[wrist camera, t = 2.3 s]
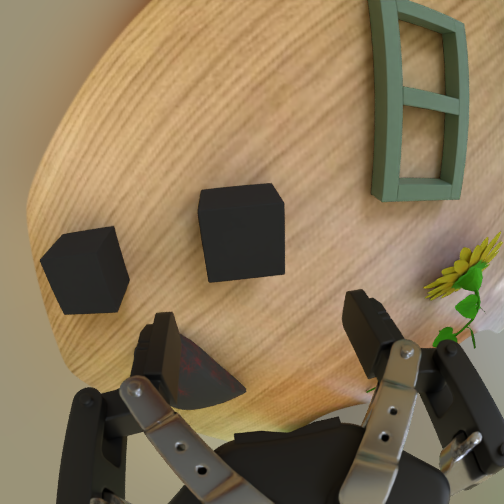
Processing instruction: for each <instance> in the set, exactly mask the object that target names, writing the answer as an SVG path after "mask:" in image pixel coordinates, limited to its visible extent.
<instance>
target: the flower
mask: <svg viewBox="0 0 504 504" xmlns="http://www.w3.org/2000/svg"><path fill="white" fill-rule="evenodd" d="M500 234H501V231H500V232H499V233H498V234H497V235H496V236H495V238H494V239H493V240H492V241H491V242H490V244H489V245H488V237H487V238H486V239H485V240H484V241H483V242H482V244H481V245H477V246H476V247H475V249H474V251H473V253H472V252H471V250H470V249H469V248H466V247H464V248H463V249H462V250H461V253H460V260H457V261H455V263H454V267H449V268H446V269H443V270H442V272H441V273H442V274H443V277H440V278H438V279H437V280H436V281H435V282H433V283H431V284H429V285H427V286H425V287H423V288H433V287H437V286H439V287H437V288H435V289H434V290H432V291H430V292H428V293H427V294H429V295H428V296H427V297H425V298H428V297H431V296H434V295H435V296H434V297H432V298H431V299H430V300H433V299H435V298H437V297H439V296H440V295H442V294H444V293H445V294H444V295H443V296H442V297H441V298H443V297H445V296H448V295H450V294H451V293H453V292H454V291H455V290H456V291H458V290H460V289H461V288H463V289H465V290H469V291H474V292H475V295H473V294H471V295H469V296H467V297H466V298H465V299H464V300H462V301H461V302H459V303H458V304H457V305H456V306H455V309H456V310H457V311H458V312H459V313H460V314H461V315H462V316H464V317H466V318H470V319H471V320H470V321H469V322H468V323H467V324H466V325H465V326H464V327H463V328H462V329H461V330H460V331H459V332H458V333H454V334H452V332H453V328H452V327H446V328H443V329H442V330H441V331H439V332H440V333H439V335H438V336H437V337H436V339H435V340H434V342H433V347H437V345H438V344H439V342H440V341H442V340H446V339H449V340H453V341H455V342H457V338H456V336H457V335H458V334H459V333H461V332H462V331H463V330H464V329H465V328H466V327H467V326H468V325H469V324H470V323H471V322H472V321H473V320H474V318H475V316H476V314H477V312H478V310H479V309H480V308H481V307H480V302H481V301H480V296H479V292H478V290H479V288H480V287H481V283H482V279H483V276H482V271H483V270H484V269H486V268H487V267H488V266H489V265H490V264H488V263H489V262H490V261H491V260H492V259H493V258H494V257H495V256H496V255H497V253H498V252H499V251H498V252H496V251H497V250H498V249H499V248H500V246H501V245H502V243H503V242H502V243H501V241H500V242H499V243H498V244H497V245H496V247H495V248H494V249H493V250H492V251H491V249H492V248H493V246H494V245H495V243H496V242H497V240H498V238H499V236H500ZM500 243H501V244H500ZM487 245H488V246H487ZM490 251H491V253H490V254H489V252H490ZM495 252H496V253H495ZM494 253H495V254H494ZM488 254H489V255H488ZM493 254H494V255H493ZM487 255H488V256H487ZM485 258H486V259H485ZM487 264H488V265H487ZM447 291H448V292H447ZM456 291H455V292H456ZM446 292H447V293H446ZM430 293H431V294H430ZM476 303H477V305H476ZM481 309H482V308H481ZM483 311H484V310H483ZM484 312H485V311H484ZM469 326H470V325H469ZM467 328H469V327H467ZM469 329H470V330H471V328H469ZM471 336H472V341H473V345H474V348H476V346H475V339H474V334H473V331H472V330H471ZM375 388H376V387H375ZM375 388H373V389H371V390H369V391H367V392H366V393H368V392H370V391H372V390H374V389H375Z"/></svg>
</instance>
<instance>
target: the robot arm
mask: <svg viewBox="0 0 504 504" xmlns="http://www.w3.org/2000/svg"><path fill="white" fill-rule="evenodd" d="M342 323H343V327H344V330H345V332H346V334H347V336H348V338H349V340H350V342H351V344H352V346H353V348H354V350H355V352H356V354H357V357H358V359H359V361H360V363H361V365H362V367H363V369H364V372H365V374H366V376H367V378H368V379H370V378H374V377H376V378H377V380H378V383H377V385H376V388H375V391H374V394H373V397H372V399H371V402H370V405H369V408H368V410H367V413H366V415H365V418H364V420H363V422H362V425H361V426H359V425H356V424H351V423H341V422H340V419H339V417H334V418H330V419H326V420H321V421H316V422H313V423H311V424H308V425H306V426H304V427H301V428H299V429H297V430H294V431H292V432H288V433H284V432H269V431H254V432H245V433H234V439H235V440H233V441H230V442H227V443H225V444H223V445H221V446H220V447H218V448H217V449H215V450H214V451H213V450H212V449H211V448H210V447H209V446H208V445H207V444H206V443H205V442H204V441H203V440H202V439H201V438H200V437H199V435H198V434H197V433H196V432H195V431H194V430H193V429H192V428H191V427H190V426H189V425H188V423H187V422H186V421H185V420H184V419H183V418H182V417H181V416H180V415H179V414H178V413H177V412H175V411H174V410H173V409H172V408H171V407H170V406H177V396H178V382H179V369H180V357H181V338H180V334H179V331H178V327H177V324H176V321H175V317H174V314H173V312H160V313H156V314H155V318H154V323H153V324H147V325H146V326H145V327H144V329H143V330H142V331H141V332H140V336H139V340H138V344H137V348H136V349H137V350H136V353H135V357H134V361H133V366H132V370H131V375H130V377H129V378H127V379H126V380H125V381H123V383H122V384H121V386H120V388H119V389H117V390H113V391H110V392H106V393H102V394H101V393H100V392H99V391H98V390H97V389H95V388H91V387H88V388H84V389H82V390H80V391H79V392H77V394H76V395H75V396H74V399H73V402H72V407H71V412H70V415H69V420H68V425H67V430H66V435H65V440H64V446H63V452H62V458H61V465H60V473H59V480H58V489H57V500H56V504H131V503H129V502H128V501H126V500H125V471H126V449H127V436H128V435H132V434H136V433H140V432H144V433H145V435H146V437H147V438H148V439H149V441H150V442H151V443H152V445H153V446H154V447H155V449H156V450H157V451H158V452H159V454H160V455H161V457H162V458H163V459H164V460H165V462H166V463H167V464H168V465H169V466H170V468H171V469H172V470H173V471H174V473H175V474H176V475H177V476H178V477H179V478H180V480H181V481H182V482H183V483H184V484H185V485H184V486H183V487H182V488H181V489H180V491H179V492H178V493H177V494H176V495H175V496H174V497H173V499H172V500H171V501H170V502H169V503H168V504H449V501H450V497H451V496H453V495H454V494H456V493H458V492H460V491H462V490H469V489H472V488H473V487H475V486H477V485H478V484H480V483H482V482H483V481H485V480H486V479H488V478H489V477H491V476H493V475H494V474H496V473H497V472H498V471H500V470H501V469H503V468H504V419H503V417H502V415H501V413H500V412H499V409H498V408H497V406H496V404H495V402H494V400H493V398H492V397H491V395H490V393H489V392H488V389H487V388H486V386H485V384H484V383H483V381H482V379H481V377H480V376H479V374H478V372H477V371H476V369H475V368H474V366H473V364H472V363H471V361H470V360H469V358H468V356H467V355H466V353H465V352H464V350H463V349H462V348H461V346H460V345H459V344H458V343H457V342H455V341H453V340H449V339H446V340H442V341H440V342H439V344H438V345H437V347H436V348H420V347H419V346H418V345H417V344H416V343H415V342H413V341H411V340H407V339H405V338H404V337H403V335H402V334H401V332H400V331H399V329H398V328H397V326H396V325H395V323H394V322H393V320H392V319H391V318H390V316H389V314H388V313H387V312H386V310H385V308H384V307H383V305H382V304H381V303H380V302H378V301H377V300H376V299H374V298H368V296H367V295H366V293H365V292H364V290H363V289H359V290H353V291H347V292H346V295H345V301H344V307H343V313H342ZM417 393H419V394H420V396H421V398H422V401H423V403H424V405H425V407H426V410H427V412H428V414H429V416H430V419H431V421H432V423H433V425H434V428H435V430H436V433H437V435H438V438H439V440H440V443H441V445H442V448H443V450H442V451H441V453H440V463H439V467H440V470H439V469H437V468H435V467H433V466H432V465H430V464H428V463H426V462H424V461H422V460H420V459H418V458H416V457H415V456H413V455H411V454H409V453H407V452H406V451H404V450H403V448H404V444H405V441H406V437H407V434H408V430H409V426H410V423H411V419H412V415H413V411H414V407H415V402H416V398H417Z"/></svg>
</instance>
